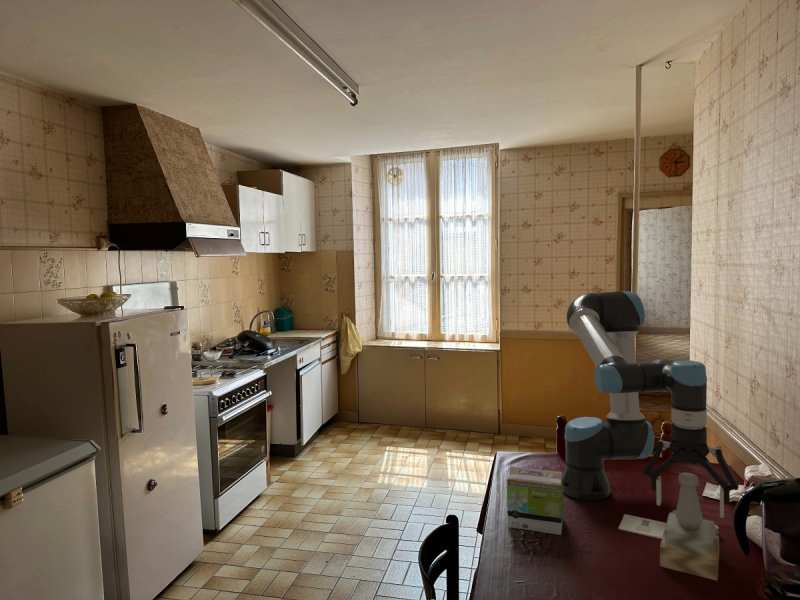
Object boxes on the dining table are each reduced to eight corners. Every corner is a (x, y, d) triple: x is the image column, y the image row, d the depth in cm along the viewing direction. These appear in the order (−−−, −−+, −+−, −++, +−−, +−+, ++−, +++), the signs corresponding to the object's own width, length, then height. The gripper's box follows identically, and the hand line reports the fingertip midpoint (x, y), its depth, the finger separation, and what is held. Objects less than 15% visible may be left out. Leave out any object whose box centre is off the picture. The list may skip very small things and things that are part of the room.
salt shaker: (701, 521, 130) (700, 471, 129) (704, 533, 124) (703, 480, 123) (675, 518, 132) (674, 468, 131) (676, 529, 127) (675, 477, 126)
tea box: (507, 529, 148) (505, 478, 147) (512, 512, 157) (510, 465, 156) (562, 536, 143) (561, 484, 142) (564, 518, 152) (562, 469, 151)
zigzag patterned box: (660, 566, 127) (659, 530, 126) (665, 542, 137) (665, 510, 136) (717, 580, 120) (717, 543, 120) (719, 555, 130) (718, 520, 130)
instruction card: (618, 529, 145) (618, 527, 145) (624, 515, 152) (624, 513, 152) (666, 540, 138) (666, 538, 138) (670, 525, 146) (670, 523, 146)
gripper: (630, 422, 130) (632, 504, 132) (750, 436, 116) (750, 528, 118) (635, 414, 136) (637, 492, 138) (750, 427, 123) (750, 513, 124)
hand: (689, 509), depth 128 cm, fingers open, 13 cm apart
